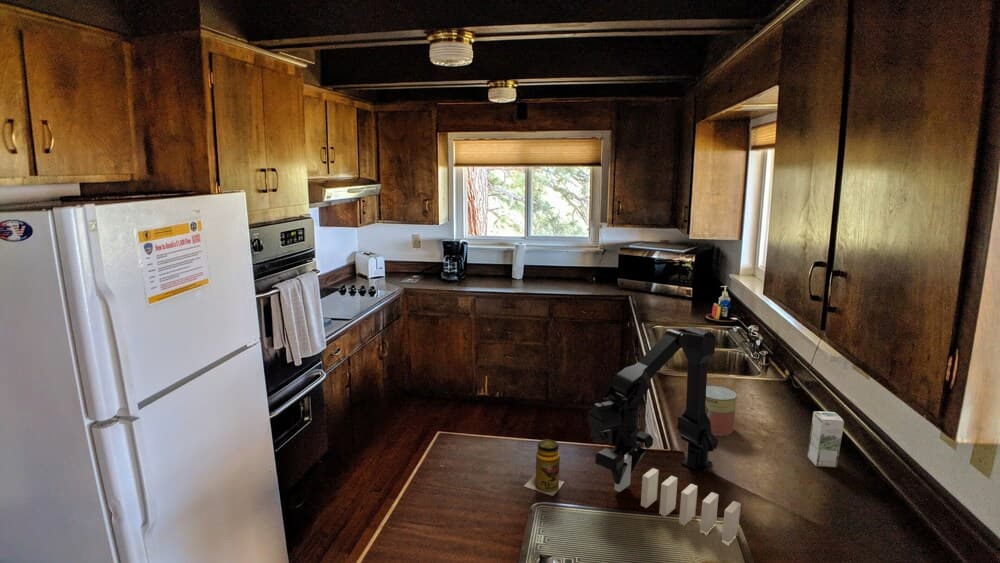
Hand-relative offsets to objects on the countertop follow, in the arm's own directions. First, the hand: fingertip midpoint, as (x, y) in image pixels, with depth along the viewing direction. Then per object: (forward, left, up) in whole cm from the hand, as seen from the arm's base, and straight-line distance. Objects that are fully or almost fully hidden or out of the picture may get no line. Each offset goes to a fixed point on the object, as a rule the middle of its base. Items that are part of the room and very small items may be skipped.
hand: (622, 479), depth 143 cm
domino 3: (0, +13, -3) cm, 13 cm away
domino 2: (0, +8, -3) cm, 8 cm away
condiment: (+12, -16, -3) cm, 20 cm away
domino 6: (0, +28, -3) cm, 28 cm away
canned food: (-52, +2, -3) cm, 52 cm away
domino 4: (0, +18, -3) cm, 18 cm away
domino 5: (0, +23, -3) cm, 23 cm away
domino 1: (0, 0, -2) cm, 2 cm away
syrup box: (-52, +33, -3) cm, 62 cm away
